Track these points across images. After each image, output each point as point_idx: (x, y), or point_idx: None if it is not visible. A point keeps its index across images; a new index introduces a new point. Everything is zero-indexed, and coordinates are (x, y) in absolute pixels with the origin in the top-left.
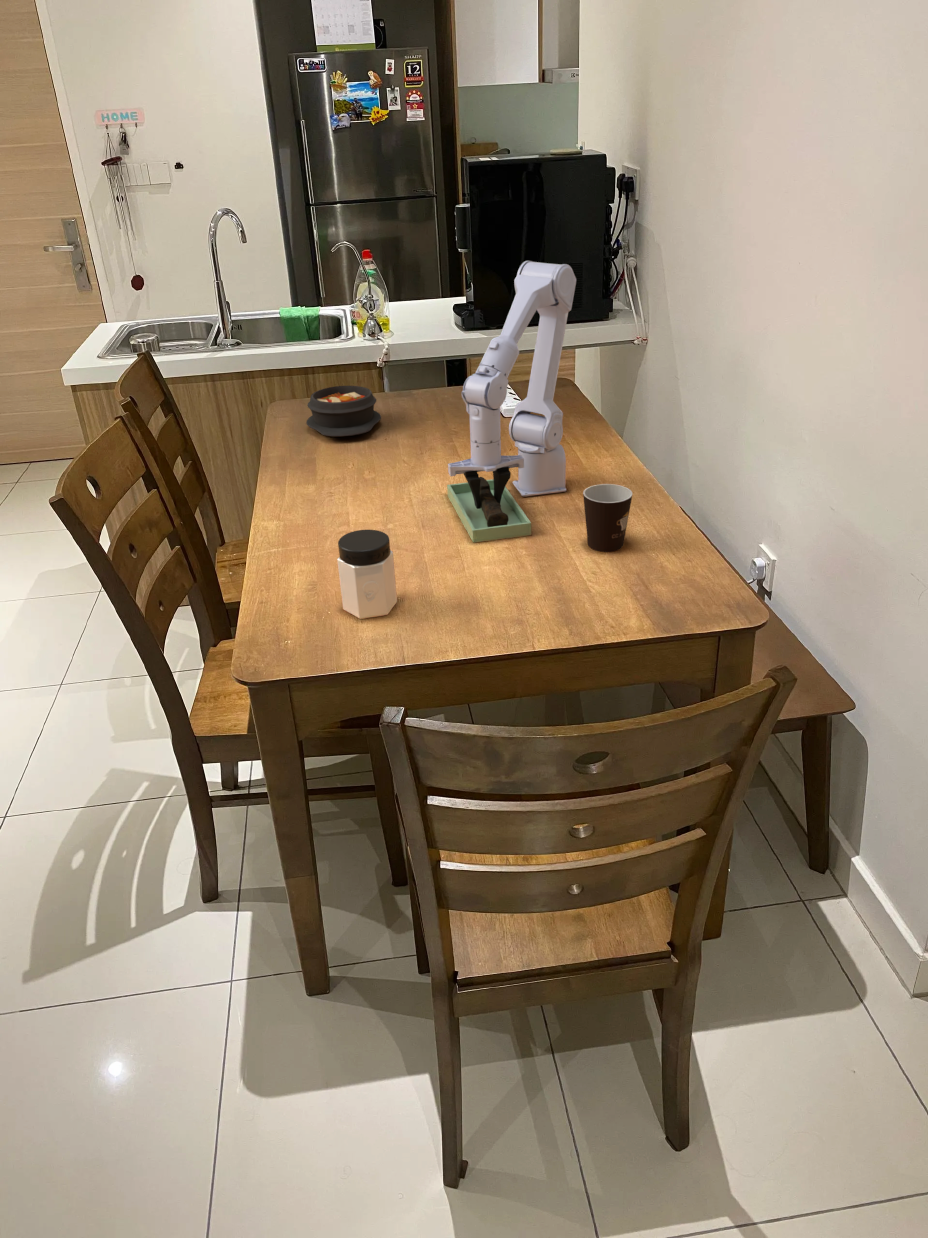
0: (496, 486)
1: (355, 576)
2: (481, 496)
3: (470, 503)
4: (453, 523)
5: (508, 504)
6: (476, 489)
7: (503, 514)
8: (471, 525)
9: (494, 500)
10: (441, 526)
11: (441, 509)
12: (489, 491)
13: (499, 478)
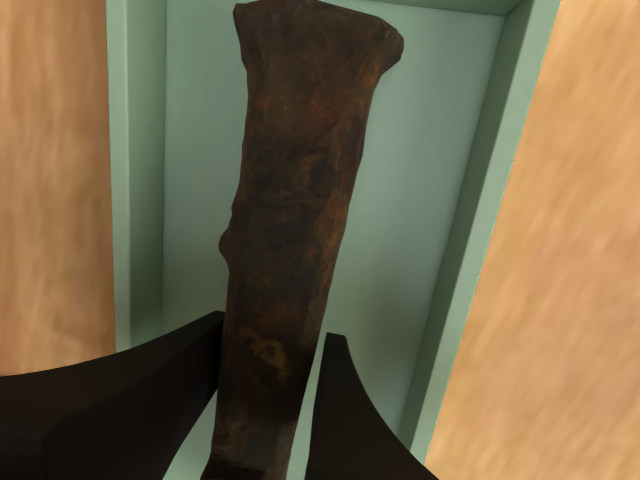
0: (165, 407)
1: None
2: (294, 400)
3: None
4: (491, 309)
5: None
6: (351, 412)
7: (266, 2)
8: (528, 68)
9: (240, 296)
10: (570, 306)
11: (464, 468)
12: (225, 427)
13: (79, 405)
